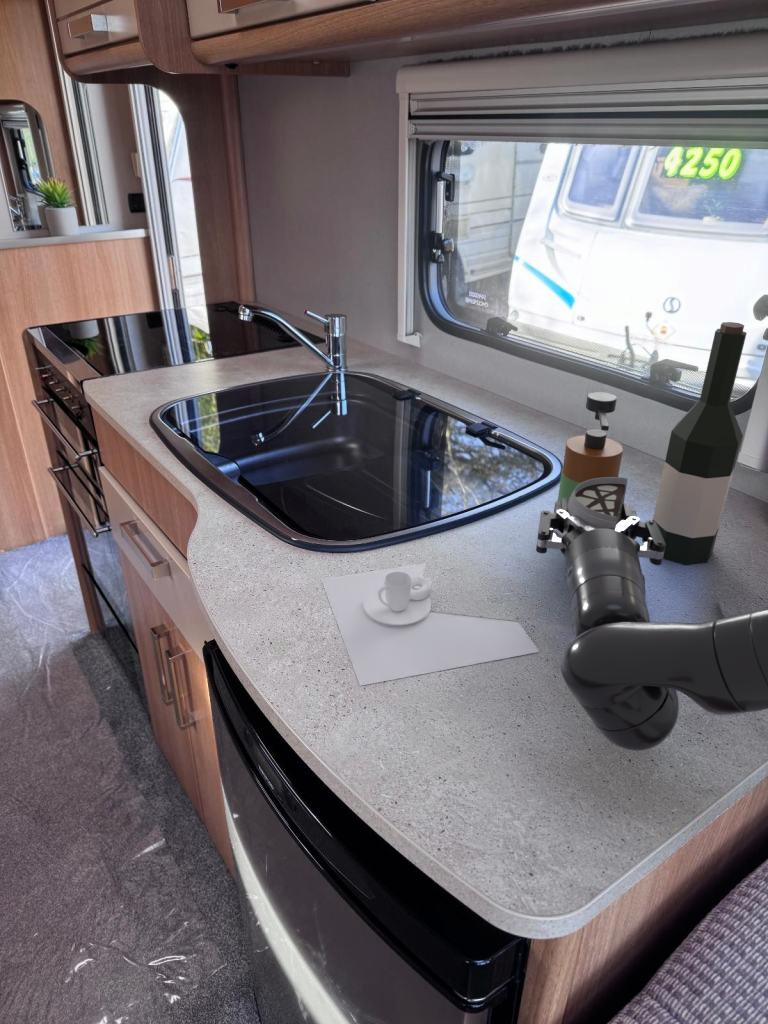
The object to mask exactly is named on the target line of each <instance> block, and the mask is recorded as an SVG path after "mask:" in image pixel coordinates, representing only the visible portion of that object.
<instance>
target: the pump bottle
mask: <svg viewBox="0 0 768 1024" xmlns="http://www.w3.org/2000/svg"><path fill="white" fill-rule="evenodd" d="M607 435H608V434H607V432H606V431H605V430H601V429H597V428H595V429H594V428H592V429H587V430H586V431H585V434H583V435H582V434H581V435H576V436H573V437H570V438H568V439H567V440H566V443H565V450H564V456H563V457H564V458H563V463H562V464H563V465H562V468H561V473H560V474H561V475H560V479H559V481H560V482H559V489H558V495H557V501H561V498H567V504H568V502H569V499H570V497H571V494H572V492H573V491H574V490H575V488H576V486H578V485H579V484H580V483H582V482H584V481H587V480H590V479H595V478H602V477H620V475H619V474H620V470H621V463H622V457H623V451H624V448H623V445H622V444H621V443H619V442H618V441H616V440H614V439H611V438H608V436H607ZM568 513H569V512H568ZM555 534H556V535H558V536H559V538H562V536H560V535H559V534H558V533H557V532H556V531H555Z"/></svg>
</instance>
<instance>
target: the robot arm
mask: <svg viewBox="0 0 768 1024" xmlns="http://www.w3.org/2000/svg"><path fill="white" fill-rule="evenodd" d="M620 520H621V521H620V522H619V523H618V524H617V525H616V528H612V527H611V528H610V529H595V528H594V527H593V526H592V525H588V524H586V523H585V522H584V521H583V520H581V519H580V518H579V517H578V516H576V515H575V516H571V515H570V514H569V513H568V504H567V498H561V501H558V500H556V501H555V502H554V509H553V513H552V512H551V511H549V510H542V511H541V512H540V515H539V523H538V531H537V539H536V546H535V552H536V553H538V554H546V553H547V552H548V549H554V550H560V552H561V554H562V555H563V556H564V558H565V571H566V572H565V574H566V587H567V589H566V590H567V597H568V601H569V604H570V605H569V606H570V610H571V626H572V631H573V637H574V639H573V640H572V641H570V643H569V644H568V645H567V646H566V649H565V650H564V652H563V653H562V657H561V661H560V672H561V675H562V678H563V681H564V682H565V684H566V686H567V688H568V689H569V691H570V692H571V694H572V695H573V696H574V698H575V699H576V700H577V702H578V703H579V704H580V706H581V707H582V708H583V709H584V711H585V713H586V714H587V716H588V717H589V718H590V720H592V722H593V724H594V725H595V727H596V728H597V729H598V730H599V732H600V733H601V735H603V736H604V737H605V739H606V740H608V741H609V742H610V743H612V744H614V745H615V746H617V747H619V748H621V749H624V750H627V751H637V752H639V751H640V752H641V751H642V752H643V751H647V750H650V749H653V748H655V747H657V746H658V745H661V744H662V743H663V742H664V741H665V740H666V739H667V738H668V737H669V736H670V734H671V733H672V732H673V730H674V728H675V726H676V724H677V720H678V717H679V710H680V703H679V696H678V692H680V693H682V694H684V695H685V696H687V697H688V698H689V699H690V700H692V702H694V703H695V704H696V705H698V706H699V707H700V708H701V709H703V711H706V712H707V713H710V714H713V715H717V716H730V715H731V716H733V715H740V714H746V713H752V712H759V711H764V710H765V711H766V710H768V607H764V608H761V609H755V610H751V611H747V612H743V613H738V614H733V615H731V616H726V617H721V618H719V619H713V620H710V621H706V622H701V623H697V622H696V623H695V622H676V621H675V622H660V621H659V622H657V621H656V622H654V621H651V618H650V613H649V609H648V605H647V600H646V596H647V595H646V592H647V591H646V578H645V574H643V571H642V567H641V566H642V565H641V562H640V558H643V559H649V562H650V563H651V564H652V565H655V566H660V565H663V564H662V563H663V560H664V559H663V556H664V551H665V546H666V543H665V541H664V539H663V536H662V534H661V532H660V530H659V527H658V525H657V523H656V522H655V521H653V519H647V520H645V521H641V519H640V517H638V515H637V511H636V509H635V508H634V507H631V506H630V503H628V502H627V503H626V502H624V503H623V504H622V510H621V515H620ZM554 531H555V532H554ZM556 532H557V533H558V534H559V535H560V536H562V538H561V537H560V536H559V535H558V534H557V533H556ZM557 535H558V536H559V537H558V536H557ZM637 538H640V539H641V541H642V544H643V545H640V543H639V542H638V541H636V539H637Z"/></svg>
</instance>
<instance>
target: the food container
mask: <svg viewBox="0 0 768 1024" xmlns="http://www.w3.org/2000/svg"><path fill="white" fill-rule="evenodd" d="M627 486H628V477H622V476H621V477H620V476H619V477H602V478H595V479H590V480H587V481H584V482H582V483H580V484H579V485H578V486H576V488H575V490H574V491H573V492H572V494H571V497H570V499H569V502H568V512H569V514H570V515H571V516H575V515H576V516H578V517H579V518H580V519H581V520H583V521H584V522H585V523H586V524H588V525H592V526H593V527H594V528H595V529H610V528H611V527H612V528H616V525H617V524H618V523H619V522H620V521H621V520H620V515H621V510H622V504H623V503H625V499H626V492H627Z"/></svg>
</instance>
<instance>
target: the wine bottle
mask: <svg viewBox="0 0 768 1024" xmlns="http://www.w3.org/2000/svg"><path fill="white" fill-rule="evenodd" d="M744 328H745V325H744V324H742V323H740V322H733V321H726V322H725V321H723V322H721V324H720V326H719V328H717V329H716V330H715V331H714V334H713V335H714V336H713V340H712V344H711V347H710V348H711V349H710V352H709V356H708V357H709V358H708V362H707V365H706V366H707V367H706V371H705V375H704V380H703V384H702V388H701V392H700V398H699V400H697V402H696V403H695V404H694V405H693V406H692V407H691V408H690V409H689V410H688V411H687V413H685V415H684V416H683V417H682V418H681V419H680V420H679V421H678V422H677V423H676V424H675V426H674V427H673V428H672V430H671V432H670V437H669V441H668V446H667V450H666V454H665V461H664V465H663V469H662V474H661V478H660V483H659V489H658V494H657V498H656V503H655V508H654V512H653V517H652V521H655V522H656V523H657V525H658V527H659V530H660V532H661V534H662V536H663V539H664V541H665V543H666V546H665V551H664V556H663V560H665V561H667V562H668V561H669V562H671V563H672V562H673V563H675V564H679V565H683V566H692V565H693V566H694V565H701V564H707V563H708V562H709V560H710V558H711V557H712V554H713V551H714V546H715V544H716V540H717V537H718V532H719V529H720V524H721V521H722V518H723V515H724V514H723V513H724V509H725V506H726V503H727V498H728V494H729V490H730V487H731V484H732V483H731V482H732V479H733V475H734V471H735V467H736V464H737V460H738V456H739V453H740V449H741V445H742V441H743V437H744V435H743V432H742V430H741V428H740V425H739V422H738V419H737V417H736V415H735V412H734V410H733V407H732V405H731V398H732V394H733V390H734V386H735V382H736V378H737V375H738V370H739V366H740V361H741V358H742V354H743V349H744V345H745V343H746V342H745V341H746V338H747V332H746V331H744Z"/></svg>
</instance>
